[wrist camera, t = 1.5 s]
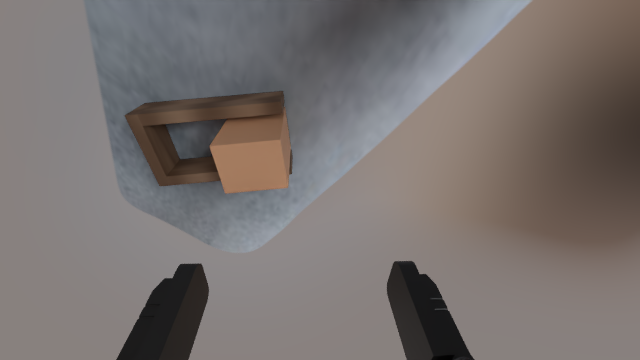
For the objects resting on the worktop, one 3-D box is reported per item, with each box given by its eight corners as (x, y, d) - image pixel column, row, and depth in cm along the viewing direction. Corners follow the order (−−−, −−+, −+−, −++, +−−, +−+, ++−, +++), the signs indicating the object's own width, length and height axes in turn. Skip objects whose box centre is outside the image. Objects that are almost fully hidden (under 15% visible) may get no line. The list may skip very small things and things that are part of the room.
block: (285, 106, 30) (280, 139, 22) (290, 146, 32) (288, 187, 25) (232, 111, 29) (209, 146, 22) (242, 150, 32) (225, 193, 25)
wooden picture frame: (282, 91, 29) (280, 101, 25) (292, 157, 33) (291, 173, 30) (144, 103, 29) (124, 115, 25) (173, 168, 33) (159, 186, 30)
